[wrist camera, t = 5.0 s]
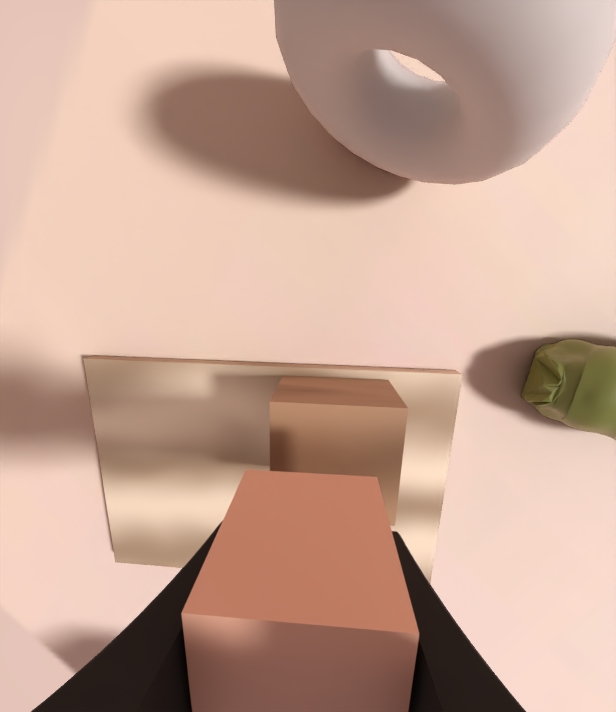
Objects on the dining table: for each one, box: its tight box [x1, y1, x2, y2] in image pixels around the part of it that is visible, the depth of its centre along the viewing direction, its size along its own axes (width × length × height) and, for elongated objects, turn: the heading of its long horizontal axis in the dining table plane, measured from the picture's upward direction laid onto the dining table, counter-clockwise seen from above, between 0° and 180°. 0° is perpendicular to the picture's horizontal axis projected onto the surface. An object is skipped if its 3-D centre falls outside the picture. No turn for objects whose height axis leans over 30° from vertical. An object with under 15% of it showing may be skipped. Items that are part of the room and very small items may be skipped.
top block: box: [181, 470, 419, 712], centre depth 8 cm, size 4×4×4 cm
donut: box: [274, 0, 616, 184], centre depth 9 cm, size 10×4×10 cm, turn 65°
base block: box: [269, 375, 408, 526], centre depth 15 cm, size 6×6×4 cm
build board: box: [83, 356, 462, 583], centre depth 18 cm, size 15×22×1 cm
